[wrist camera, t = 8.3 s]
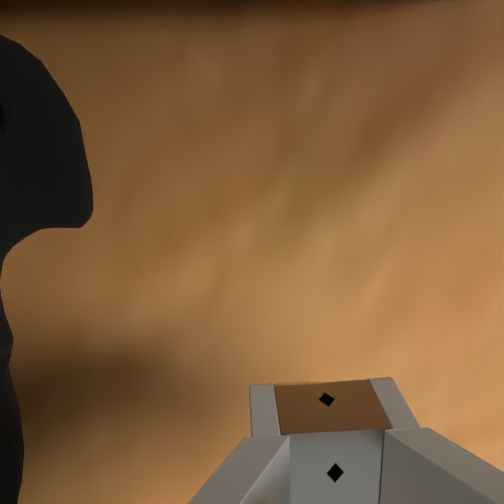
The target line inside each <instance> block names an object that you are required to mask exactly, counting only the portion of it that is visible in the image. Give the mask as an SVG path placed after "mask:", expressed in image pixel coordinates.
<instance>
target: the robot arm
mask: <svg viewBox="0 0 504 504" xmlns="http://www.w3.org/2000/svg"><path fill="white" fill-rule="evenodd" d="M249 399H250V421H251V437H245V438H243V439H242V441H241V442H240V443H239V444H238V445H237V446H236V448H235V449H234V450H233V451H232V452H231V454H230V455H229V456H228V457H227V458H226V459H225V461H224V462H223V463H222V464H221V465H220V466H219V468H218V469H217V470H216V471H215V472H214V473H213V475H212V476H211V477H210V478H209V479H208V481H207V482H206V483H205V484H204V485H203V486H202V488H201V489H200V490H199V491H198V492H197V493H196V495H195V496H194V497H193V498H192V499H191V501H190V502H189V503H188V504H504V472H503V471H501V470H499V469H498V468H496V467H494V466H492V465H491V464H489V463H487V462H486V461H484V460H482V459H481V458H479V457H477V456H476V455H474V454H472V453H471V452H469V451H467V450H466V449H464V448H462V447H460V446H459V445H457V444H455V443H454V442H452V441H450V440H449V439H447V438H445V437H444V436H442V435H440V434H439V433H437V432H435V431H433V430H432V429H430V428H421V427H420V425H419V423H418V421H417V420H416V418H415V416H414V414H413V412H412V411H411V409H410V407H409V405H408V404H407V402H406V400H405V398H404V397H403V395H402V393H401V391H400V390H399V388H398V386H397V384H396V383H395V381H394V379H392V378H391V377H383V378H372V379H366V380H351V381H336V382H303V383H274V385H273V384H272V383H270V384H251V385H250V386H249Z"/></svg>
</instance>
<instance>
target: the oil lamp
mask: <svg viewBox="0 0 504 504" xmlns="http://www.w3.org/2000/svg"><path fill="white" fill-rule="evenodd" d="M92 212H93V190H92V182H91V176H90V172H89V167H88V163H87V159H86V153H85V148H84V143H83V138H82V132H81V127H80V122H79V120H78V118H77V116H76V114H75V113H74V111H73V109H72V107H71V106H70V104H69V102H68V100H67V99H66V97H65V95H64V94H63V92H62V91H61V89H60V88H59V86H58V85H57V84H56V82H55V81H54V79H53V78H52V76H51V75H50V73H49V72H48V70H47V69H46V68H45V66H44V65H43V64H42V62H41V61H40V60H39V59H37V58H36V57H35V56H34V55H32V54H31V53H30V52H28V51H27V50H26V49H25V48H24V47H23V46H22V45H20V44H19V43H17V42H15V41H12V40H10V39H8V38H6V37H3V36H1V35H0V277H1V271H2V265H3V261H4V259H5V257H6V255H7V253H8V252H9V251H10V250H11V249H12V247H13V246H15V245H16V244H17V243H19V242H20V241H21V240H23V239H24V238H25V237H27V236H29V235H30V234H32V233H34V232H36V231H38V230H41V229H46V228H80V227H82V226H83V225H85V224H86V223H87V221H88V220H89V219H90V217H91V215H92ZM12 346H13V335H12V332H11V329H10V327H9V324H8V321H7V319H6V316H5V312H4V308H3V303H2V298H1V292H0V504H17V503H18V496H19V491H20V487H21V482H22V473H23V458H24V444H23V435H22V427H21V419H20V411H19V405H18V402H17V398H16V394H15V390H14V386H13V382H12V378H11V375H10V371H9V367H8V363H9V360H10V357H11V350H12Z"/></svg>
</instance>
